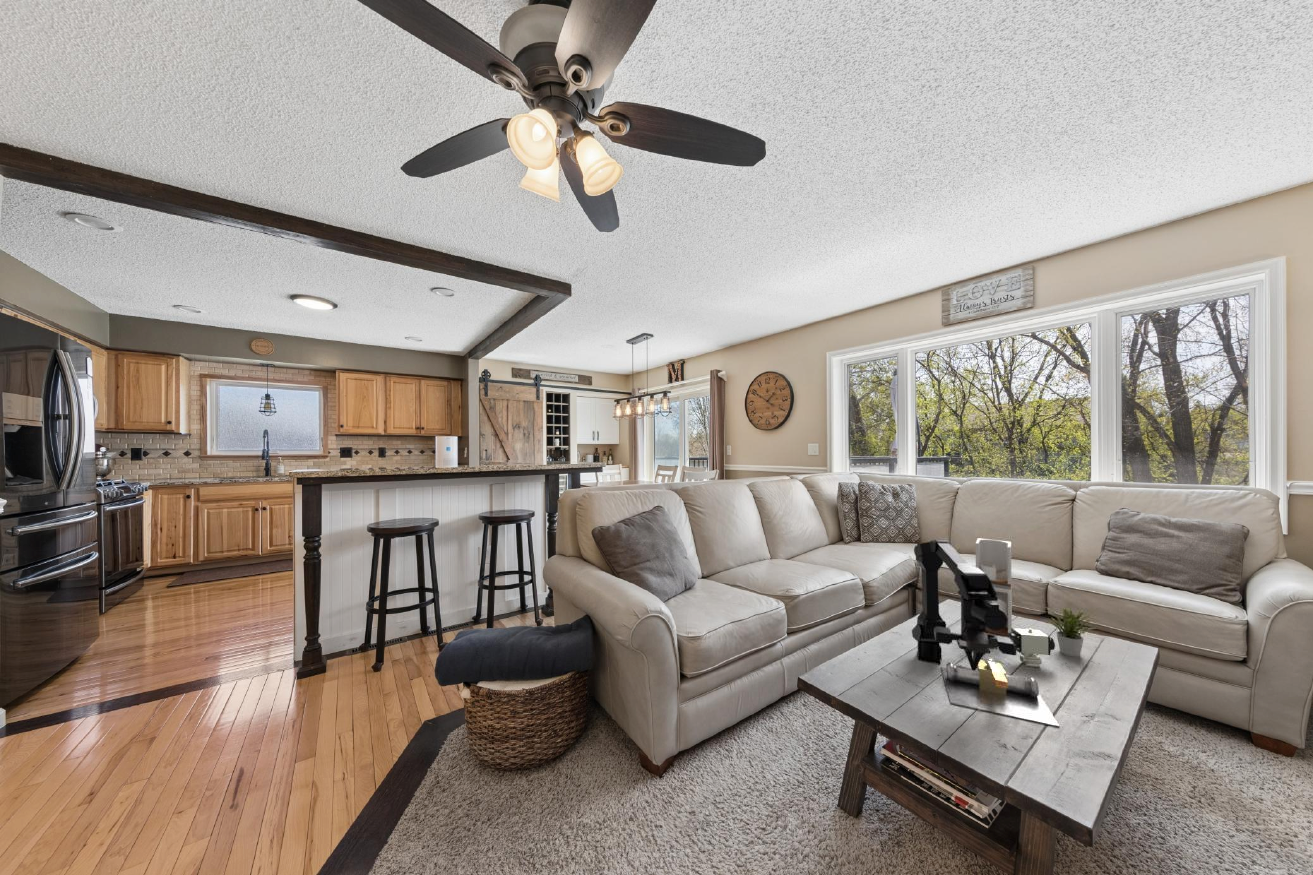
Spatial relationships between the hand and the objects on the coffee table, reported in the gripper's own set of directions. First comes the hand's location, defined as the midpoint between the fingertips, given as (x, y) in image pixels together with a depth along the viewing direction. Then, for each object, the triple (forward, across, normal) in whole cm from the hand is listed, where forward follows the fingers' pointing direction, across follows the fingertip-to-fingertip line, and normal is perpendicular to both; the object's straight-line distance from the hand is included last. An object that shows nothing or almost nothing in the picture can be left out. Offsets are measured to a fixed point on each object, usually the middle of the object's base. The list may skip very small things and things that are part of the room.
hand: (973, 669), depth 129 cm
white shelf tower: (+10, +16, +59) cm, 62 cm away
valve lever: (+2, +6, +5) cm, 8 cm away
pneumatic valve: (+10, +21, +34) cm, 41 cm away
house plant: (+10, +37, +49) cm, 62 cm away
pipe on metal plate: (+9, +6, +7) cm, 13 cm away
